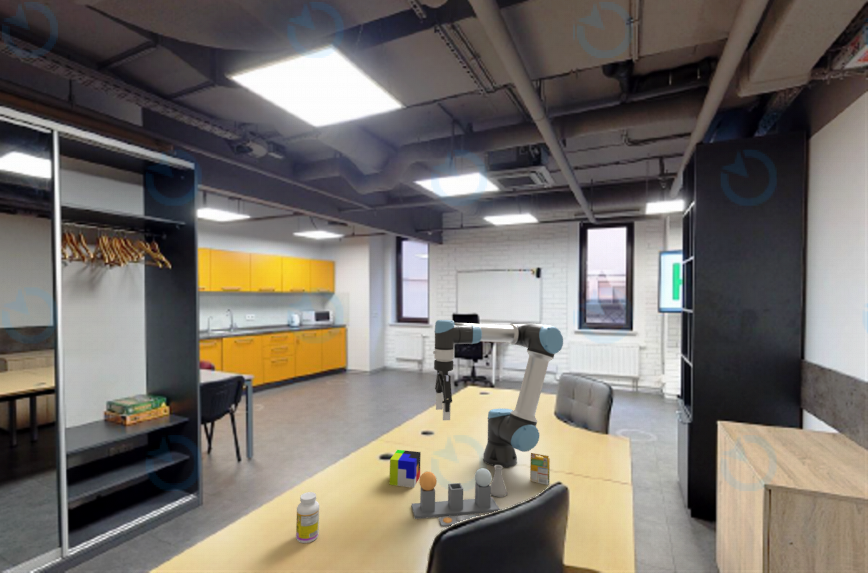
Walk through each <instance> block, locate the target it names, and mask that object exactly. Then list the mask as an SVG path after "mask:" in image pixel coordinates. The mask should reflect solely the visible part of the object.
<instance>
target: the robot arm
mask: <svg viewBox="0 0 868 573" xmlns="http://www.w3.org/2000/svg"><path fill="white" fill-rule="evenodd" d="M480 342H494V343H495V342H496V343H508V344H509V345H510V346H511V345H513V346H514V345H515V346H520V347H522V348H523V347H524V348H526V352H527V355H528V360H527V362H526V366H525V367H526V368H525V370H524V374H523V378H522V383H521V385H520V386H521V387H520V390H519V393H518V396H517V401H516V404H515V408H514V409H511V408H493V409H490V410H489V411H488V413H487V443H486V445H485V449H484V451H483V454H482V455H483V456H482V457H483V458H482V459H483V462H484V463H486V464H487V465H489V466H492V467H494V466H495V465H501V466H502V467H503V468H510V467H513V466H515V465H517V463H518V457H517V452H516V451H520V452H523V453H524V452H525V453H526V452H529V451H531V450H532V449H533V450H534V449H535V447H536V446H537V445H538V443H539V440H540V432H539V429H538V428H537V423H538V419H537V418H536V413H537V410H538V405H539V400H540V397H541V393H542V390H543V386H544V382H545V377H546V373H547V370H548V367H549V362H550V361H553V360H554V357H555V354H558V353H560V352H561V350H562V348H563V346H564V338H563V334H562V333H561V331H560V330H559V328H557V326H553V325H549V324H541V323H534V322H533V323H530V322H529V323H527V322H526V323H510V324H508V325H504V324H503V325H500V324H486V323H482V324H481V323H472V322H471V323H470V322H469V323H467V322H455V321H454V320H452V319H438V320H436V321H435V323H434V351H432V353H433V355H434V361H433V369H434V370H435V371H436V377H435V378H436V380H435V387H434V389H435V390H434V391H435V410H437V411H438V410H439V411H440V410H441V411H442V421H451V404H452V403H453V395H452V383H451V382H452V381H451V380H452V379H451V378H452V376H451V375H450V374H449V372H452V371H453V370H454V358H455V356H454V355H455V354H454V353H455V347H454V346H455V345H464V344H465V345H466V344H467V345H468V344H469V345H473V344H478V343H480Z"/></svg>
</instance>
